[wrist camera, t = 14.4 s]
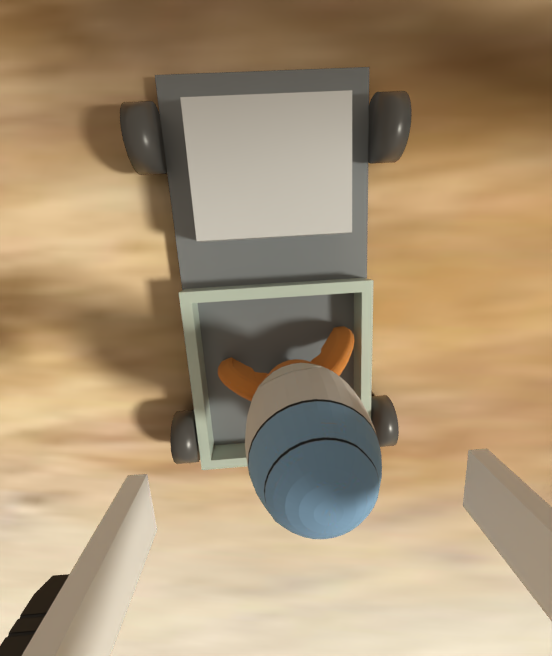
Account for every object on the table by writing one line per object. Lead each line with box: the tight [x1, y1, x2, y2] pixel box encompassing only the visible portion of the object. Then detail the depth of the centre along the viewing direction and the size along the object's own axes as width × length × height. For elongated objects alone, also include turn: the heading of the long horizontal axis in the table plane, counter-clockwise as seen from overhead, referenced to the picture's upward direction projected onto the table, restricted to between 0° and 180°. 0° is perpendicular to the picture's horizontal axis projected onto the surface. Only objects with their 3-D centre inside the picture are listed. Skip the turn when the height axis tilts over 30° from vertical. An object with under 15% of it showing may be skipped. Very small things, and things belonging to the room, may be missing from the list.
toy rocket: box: [218, 326, 382, 539], centre depth 20 cm, size 10×11×15 cm
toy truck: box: [120, 67, 411, 470], centre depth 23 cm, size 17×28×4 cm, turn 3°
